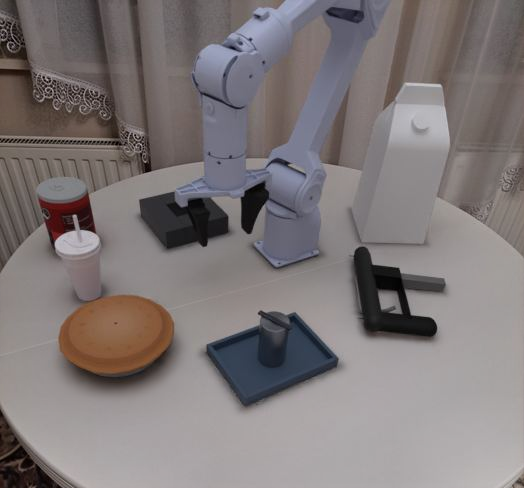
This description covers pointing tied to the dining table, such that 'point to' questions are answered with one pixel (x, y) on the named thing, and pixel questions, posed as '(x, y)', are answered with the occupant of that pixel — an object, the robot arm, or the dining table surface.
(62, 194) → the canned food
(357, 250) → the door handle
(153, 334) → the pie
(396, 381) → the dining table surface
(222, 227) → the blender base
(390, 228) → the milk
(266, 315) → the dark grey canister
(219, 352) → the tray
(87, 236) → the smoothie
